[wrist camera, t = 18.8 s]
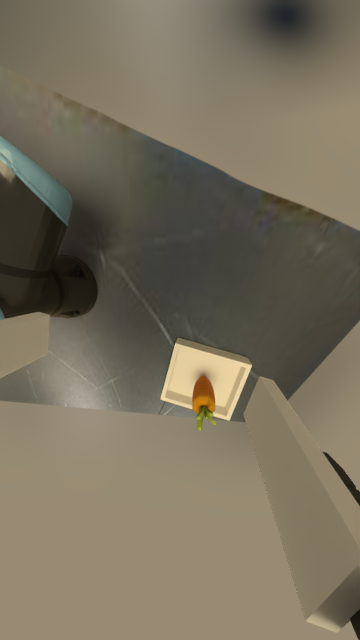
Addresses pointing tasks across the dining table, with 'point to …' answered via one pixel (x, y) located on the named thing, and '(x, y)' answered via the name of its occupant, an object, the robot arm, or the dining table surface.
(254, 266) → the dining table surface
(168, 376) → the tray
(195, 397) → the carrot
